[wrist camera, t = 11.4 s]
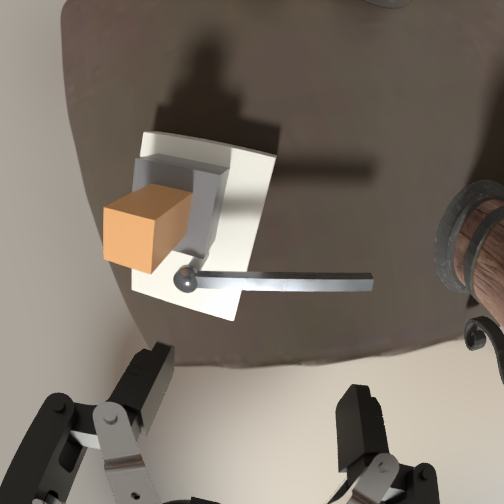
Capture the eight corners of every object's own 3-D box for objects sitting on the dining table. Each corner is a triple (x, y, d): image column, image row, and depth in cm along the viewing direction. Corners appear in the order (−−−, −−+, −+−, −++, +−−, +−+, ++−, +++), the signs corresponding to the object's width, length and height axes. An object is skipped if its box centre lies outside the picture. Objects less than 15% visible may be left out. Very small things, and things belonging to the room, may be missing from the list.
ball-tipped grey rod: (371, 266, 24) (374, 273, 23) (367, 289, 25) (370, 296, 24) (175, 264, 26) (171, 270, 25) (179, 285, 27) (175, 292, 26)
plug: (157, 152, 27) (83, 174, 16) (230, 167, 26) (189, 196, 16) (148, 222, 30) (85, 273, 19) (215, 240, 30) (175, 305, 19)
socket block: (156, 131, 28) (120, 134, 22) (277, 155, 28) (273, 163, 21) (141, 278, 37) (115, 309, 30) (237, 307, 37) (226, 346, 30)
